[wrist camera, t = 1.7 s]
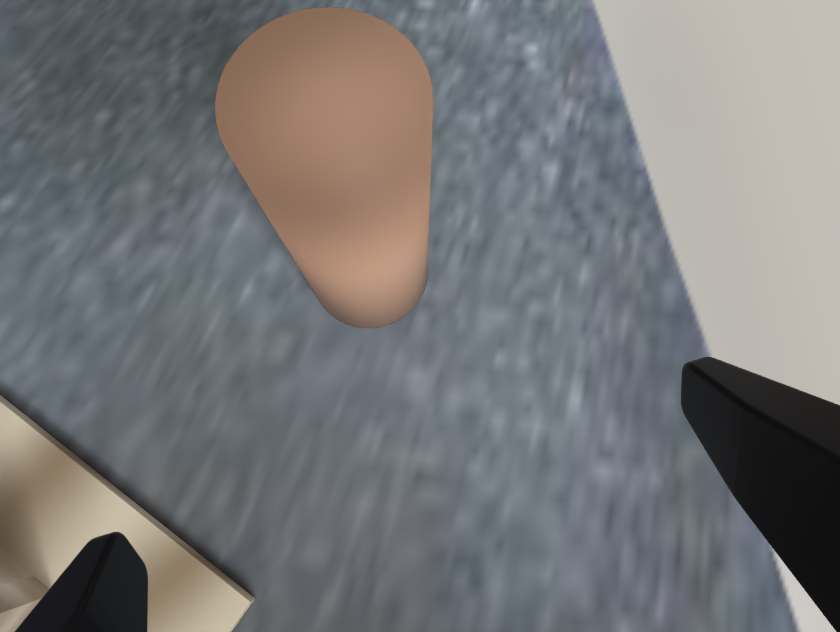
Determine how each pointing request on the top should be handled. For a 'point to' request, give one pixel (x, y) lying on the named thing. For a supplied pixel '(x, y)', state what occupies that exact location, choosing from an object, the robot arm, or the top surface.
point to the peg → (337, 154)
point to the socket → (93, 536)
